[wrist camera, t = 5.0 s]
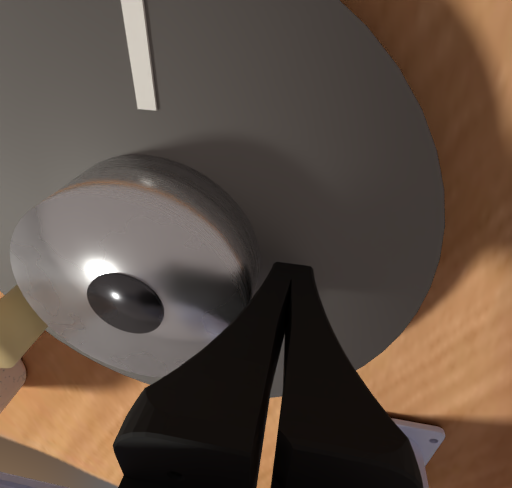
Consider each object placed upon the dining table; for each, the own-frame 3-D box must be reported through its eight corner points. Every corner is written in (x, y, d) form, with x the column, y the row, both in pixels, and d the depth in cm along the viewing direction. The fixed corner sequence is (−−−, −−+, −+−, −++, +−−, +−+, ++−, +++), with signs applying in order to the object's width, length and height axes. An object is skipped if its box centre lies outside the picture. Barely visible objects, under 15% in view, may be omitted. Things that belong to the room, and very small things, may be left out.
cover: (255, 334, 16) (240, 397, 13) (91, 305, 17) (48, 360, 14) (267, 169, 11) (248, 218, 9) (40, 141, 12) (-37, 179, 10)
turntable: (366, 393, 20) (375, 492, 16) (49, 337, 23) (-12, 411, 19) (541, -70, 9) (724, -129, 5) (-145, -80, 11) (-417, -124, 7)
